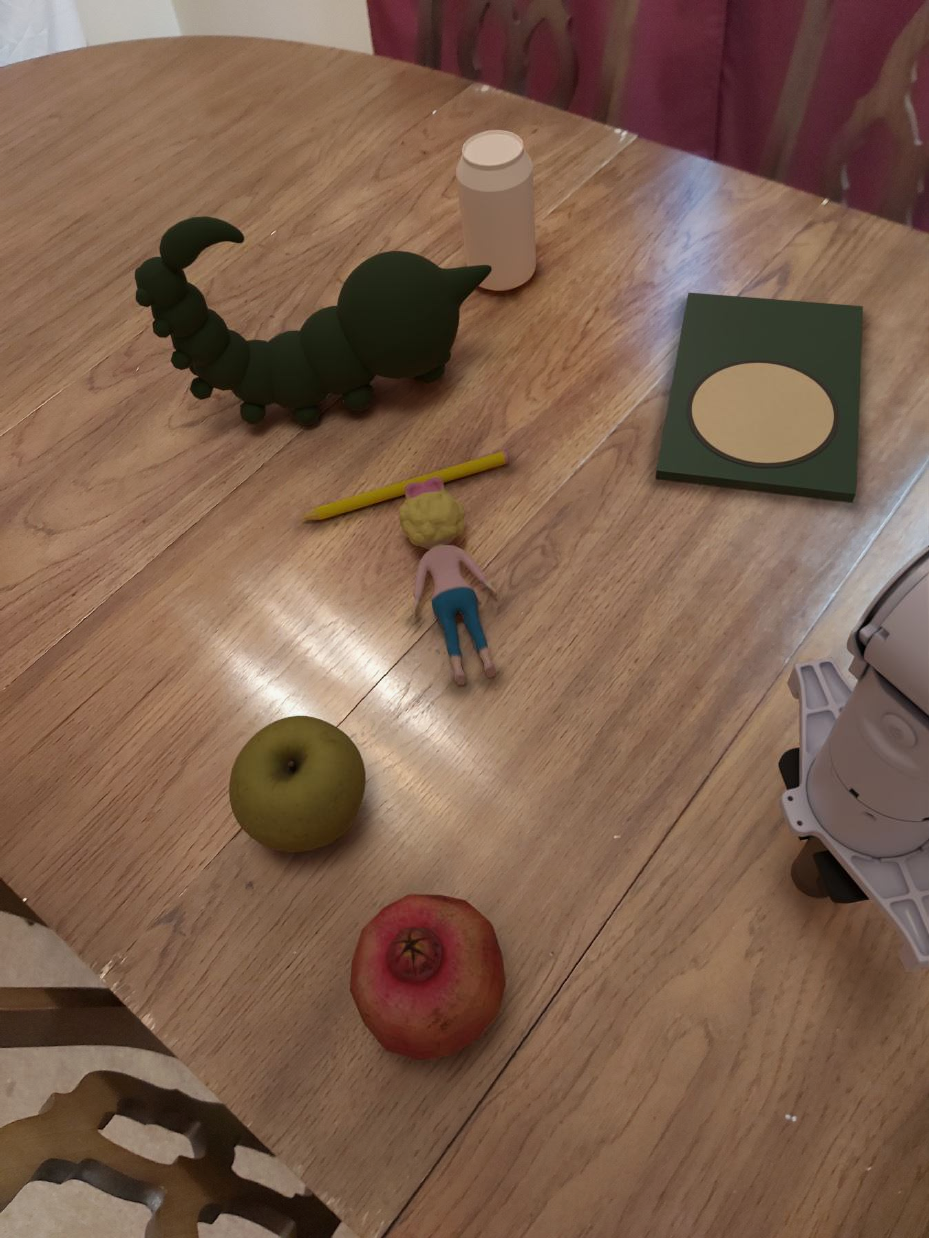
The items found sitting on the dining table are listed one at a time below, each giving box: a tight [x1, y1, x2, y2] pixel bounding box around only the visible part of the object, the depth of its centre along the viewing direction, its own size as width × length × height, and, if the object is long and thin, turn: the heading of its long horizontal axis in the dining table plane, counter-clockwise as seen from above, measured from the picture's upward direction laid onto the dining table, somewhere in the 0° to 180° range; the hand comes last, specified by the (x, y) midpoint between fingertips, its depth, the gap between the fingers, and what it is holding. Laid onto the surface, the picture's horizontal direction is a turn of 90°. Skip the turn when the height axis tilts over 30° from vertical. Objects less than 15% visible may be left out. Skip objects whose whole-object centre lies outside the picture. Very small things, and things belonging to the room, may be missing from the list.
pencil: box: [299, 450, 510, 521], centre depth 71 cm, size 16×1×1 cm, turn 107°
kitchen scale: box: [655, 292, 864, 503], centre depth 73 cm, size 20×14×1 cm
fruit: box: [349, 894, 507, 1062], centre depth 47 cm, size 8×8×10 cm
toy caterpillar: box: [134, 215, 492, 427], centre depth 70 cm, size 9×19×25 cm
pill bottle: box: [790, 835, 828, 899], centre depth 48 cm, size 3×3×10 cm
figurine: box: [398, 477, 498, 686], centre depth 64 cm, size 6×4×15 cm
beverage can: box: [455, 129, 537, 292], centre depth 79 cm, size 6×6×12 cm
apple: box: [228, 715, 367, 853], centre depth 55 cm, size 8×8×7 cm
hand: (826, 858), depth 50 cm, fingers closed on pill bottle, 2 cm apart
